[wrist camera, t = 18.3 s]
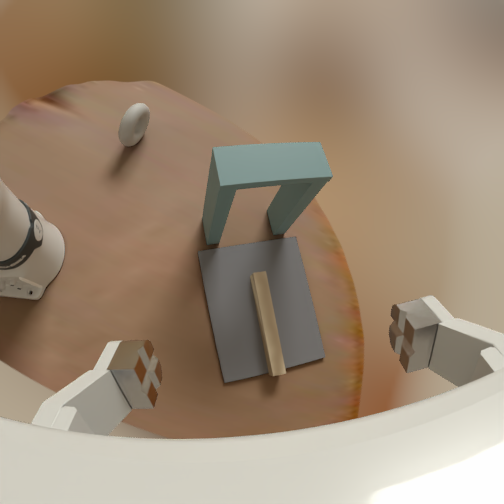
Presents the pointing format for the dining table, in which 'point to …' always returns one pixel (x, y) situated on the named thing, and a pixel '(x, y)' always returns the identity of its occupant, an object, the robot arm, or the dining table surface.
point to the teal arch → (264, 181)
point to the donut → (134, 124)
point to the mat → (244, 309)
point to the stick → (267, 324)
